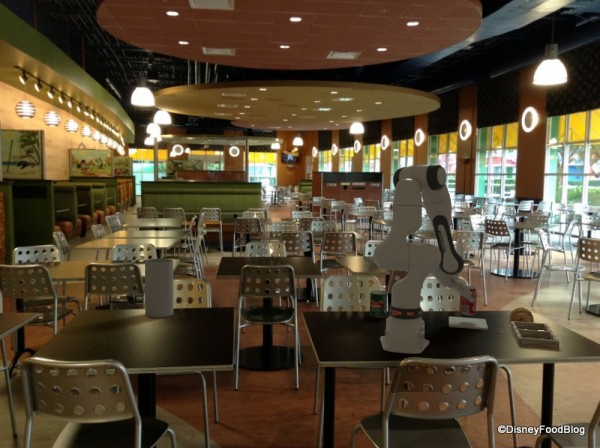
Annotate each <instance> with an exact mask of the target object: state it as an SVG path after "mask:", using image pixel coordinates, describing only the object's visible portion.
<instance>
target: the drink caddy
mask: <svg viewBox="0 0 600 448" xmlns="http://www.w3.org/2000/svg"><path fill="white" fill-rule="evenodd" d="M510 329H511V332H512V334H513V336H514V338H515V342H516V343H517V345H519V346H520V347H528V346H529V347H530V348H540V347H542V348H541V349H551V348H556V349H555V350H560V340H559V338H558V337H557V336H556V335H555V333H554V331H552V329H551V327H550V326H549V325H548V323H543V322H534V323H531V322H518V321H512V320H510ZM525 329H527V330H525ZM538 330H544V331H538ZM525 337H529V338H525ZM538 338H544V339H538ZM549 339H550V340H549ZM519 346H518V347H519Z"/></svg>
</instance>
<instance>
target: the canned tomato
mask: <svg viewBox="0 0 600 448" xmlns="http://www.w3.org/2000/svg"><path fill="white" fill-rule="evenodd" d="M369 292H370V293H369V316H370V315H371V316H370V317H372V316H375V317H374V318H386V317H387V313H388V311H387V307H388V292H387V291H384V290H371V291H369ZM385 316H386V317H385Z"/></svg>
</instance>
